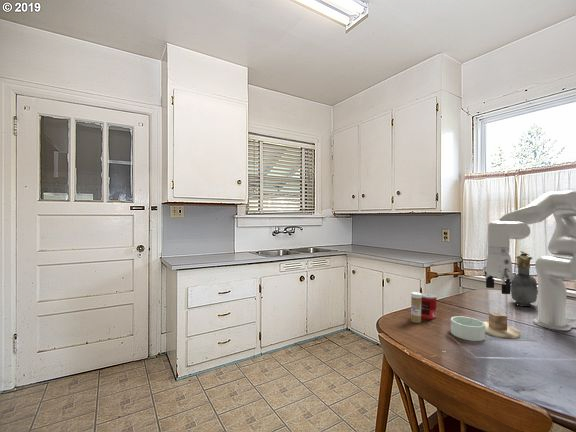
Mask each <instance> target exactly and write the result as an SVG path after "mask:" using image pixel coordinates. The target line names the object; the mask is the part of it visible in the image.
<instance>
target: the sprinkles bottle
mask: <svg viewBox="0 0 576 432" xmlns="http://www.w3.org/2000/svg"><path fill="white" fill-rule="evenodd" d="M421 293H422V292H417V291H412V292H411V293H410V298H411V300H410V301H411V304H410V305H411V306H410V309H411V310H410V321H411V322H412V323H416V324H420V323H421V322H422V318H421V298H422V294H421Z"/></svg>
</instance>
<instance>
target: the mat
mask: <svg viewBox="0 0 576 432" xmlns="http://www.w3.org/2000/svg"><path fill="white" fill-rule="evenodd" d="M485 339H488V340H489V341H511V342H512V341H518V342H519V341H520V342H522V341H523V342H537V340H536V339H534V338H532V337H530V336H528V335H527V334H525V333H523V332H521V331H520V337H519V338H515V339H507V338H500V337H495V336H491V335H488V334H486V333H485Z"/></svg>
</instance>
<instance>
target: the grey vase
mask: <svg viewBox="0 0 576 432" xmlns="http://www.w3.org/2000/svg"><path fill="white" fill-rule="evenodd" d="M515 258H516V267H517V274H513V275H514V276H515V277H514V279H513V282H512V284H511V288H510V295H511V299H512V300H513V301H515V302H514V304H515V303H516V304H518V305H523V306H531V307H532V305H533V303H536V302H537V301H538V282H537V279H536V278H535V277H533V276H531V275H530V268H531V260H533V257H532V256H530V254H529V253H527V252H525V251H522V250H520V255H517V256H515ZM516 304H515V305H516ZM518 305H517V306H518Z"/></svg>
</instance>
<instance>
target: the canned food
mask: <svg viewBox="0 0 576 432" xmlns="http://www.w3.org/2000/svg"><path fill="white" fill-rule="evenodd" d="M420 293H421V294H422V298H421V319H423V320H427V321H432V320H435V319H436V318H437V307H438V306H437V300H438V299H437V295H436V294H434V293H431V292H420Z"/></svg>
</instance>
